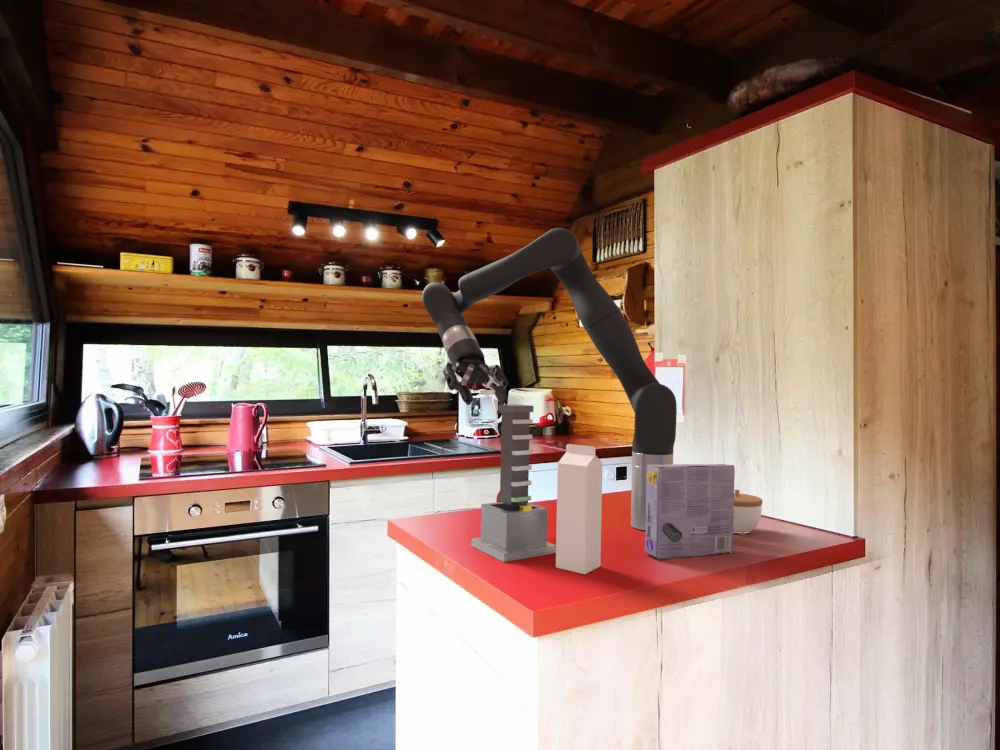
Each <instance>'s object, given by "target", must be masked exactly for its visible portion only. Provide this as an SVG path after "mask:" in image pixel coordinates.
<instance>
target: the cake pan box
mask: <svg viewBox="0 0 1000 750" xmlns="http://www.w3.org/2000/svg"><path fill="white" fill-rule="evenodd" d="M735 469H736V468H735V465H733V464H726V463H725V464H724V463H713V464H712V463H709V464H706V463H705V464H704V463H703V464H702V463H701V464H698V463H696V464H695V463H694V464H693V463H687V464H686V463H682V464H681V463H679V464H678V463H677V464H674V463H673V464H672V465H647V490H646V530H645V533H644V534H645V535H644V537H645V540H644V541H645V542H644V545H645V546H644V552H645V553H646V554H648V555H649V556H651V557H652V558H655V559H656V560H664V559H665V560H667V559H678V558H693V557H695V558H696V557H705V556H711V555H710V554H712V555H720V554H719V553H723V554H727V553H726V552H733V553H734V534H733V531H734V528H733V522H734V493H735V476H736V475H735V474H736V473H735V471H736V470H735Z"/></svg>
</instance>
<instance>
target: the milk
mask: <svg viewBox="0 0 1000 750" xmlns="http://www.w3.org/2000/svg"><path fill="white" fill-rule="evenodd" d="M556 484H557V485H556V486H557V489H556V490H557V491H556V492H557V494H556V537H555V540H556V541H555V542H556V543H555V545H556V553H555V568H557V569H560V570H565V571H569V572H573V573H578V574H580V575H586V574H588V573H590V572H592V571H595V570H596V569H599V567H601V553H602V552H601V551H602V550H601V546H602V504H603V503H602V500H603V492H602V491H603V462H602V461H601V459H600V458H599V457H598V456H597V455H596V447H595V446H592V445H583V444H573V443H567V444H566V446H565V453H564V454H563V455H562V456H561V458H560V459H559V460H558V462H557V483H556Z"/></svg>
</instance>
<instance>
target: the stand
mask: <svg viewBox="0 0 1000 750" xmlns="http://www.w3.org/2000/svg"><path fill="white" fill-rule="evenodd" d="M547 529H548V508H546V507H543V506H540V505H537V504H533V503H531V502H528V504H520V505H508V504H505V503H502V502H490V503H481V504H480V537H479V536H478V537H474V538H471V544H470V546H471V547H472V548H474V547H475V548H474V549H476V548H477V550H478V551H481V552H483V553H484V554H486V555H488V556H491V557H493V558H494V559H496V560H498V561H501V563H506V562H507V563H508V562H512V561H518V560H524V559H525V560H526V559H529V558H536V557H541V556H546V555H548V556H549V555H552V554H553V555H554V554H556V544H553V543H551V542H548V541H547V537H548V536H547V535H548V534H547V532H548V530H547Z"/></svg>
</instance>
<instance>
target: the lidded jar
mask: <svg viewBox="0 0 1000 750" xmlns="http://www.w3.org/2000/svg"><path fill="white" fill-rule="evenodd" d="M762 506H763V499H762V498H761V497H759V496H756V495H752V494H746V493H740V489H734V522H733V528H734V531H733V532H741V533H744V532H750V531H751V532H752V531H753V530H754V529H756V528H757V526H758V525H759V523H760V521H761V517H762V509H763V507H762Z"/></svg>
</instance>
